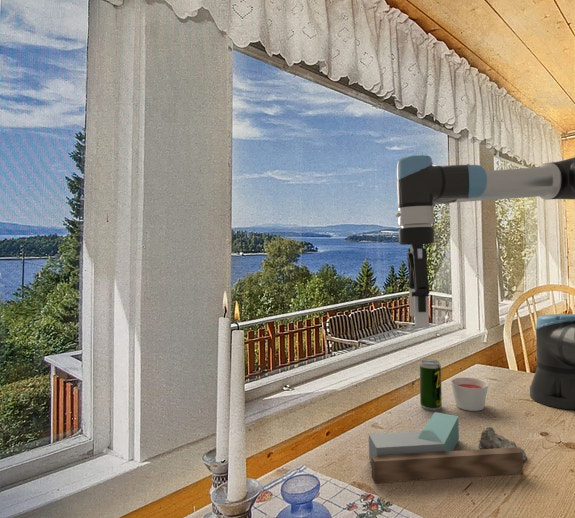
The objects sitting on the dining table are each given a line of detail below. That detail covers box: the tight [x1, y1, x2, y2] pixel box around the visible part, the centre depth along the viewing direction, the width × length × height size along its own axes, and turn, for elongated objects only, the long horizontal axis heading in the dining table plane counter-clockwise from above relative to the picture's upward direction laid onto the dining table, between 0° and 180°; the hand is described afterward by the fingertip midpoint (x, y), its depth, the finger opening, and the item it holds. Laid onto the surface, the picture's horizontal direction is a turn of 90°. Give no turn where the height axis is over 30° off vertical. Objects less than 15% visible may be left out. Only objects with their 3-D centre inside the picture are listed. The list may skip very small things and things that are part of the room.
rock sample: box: [478, 426, 527, 462], centre depth 87 cm, size 10×8×9 cm
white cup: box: [450, 376, 489, 412], centre depth 113 cm, size 9×9×6 cm
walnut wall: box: [371, 447, 524, 484], centre depth 80 cm, size 28×2×4 cm, turn 93°
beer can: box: [419, 358, 443, 411], centre depth 113 cm, size 5×5×12 cm
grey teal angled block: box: [368, 411, 460, 464], centre depth 89 cm, size 21×15×5 cm
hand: (418, 321), depth 97 cm, fingers open, 13 cm apart
